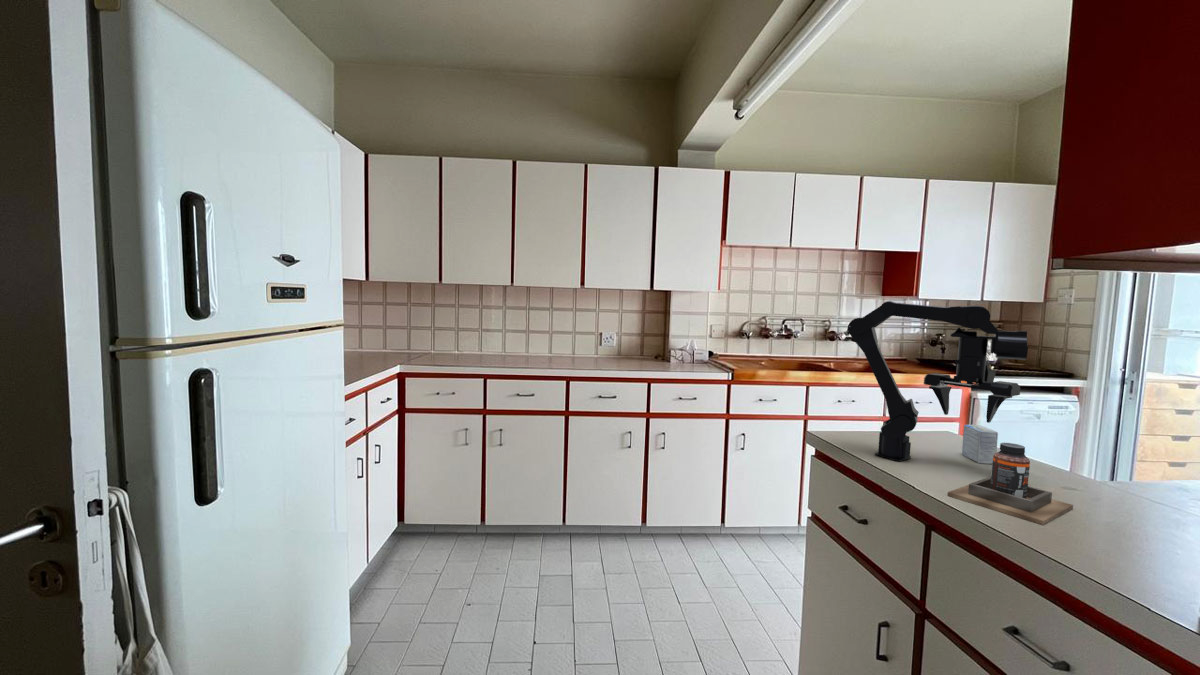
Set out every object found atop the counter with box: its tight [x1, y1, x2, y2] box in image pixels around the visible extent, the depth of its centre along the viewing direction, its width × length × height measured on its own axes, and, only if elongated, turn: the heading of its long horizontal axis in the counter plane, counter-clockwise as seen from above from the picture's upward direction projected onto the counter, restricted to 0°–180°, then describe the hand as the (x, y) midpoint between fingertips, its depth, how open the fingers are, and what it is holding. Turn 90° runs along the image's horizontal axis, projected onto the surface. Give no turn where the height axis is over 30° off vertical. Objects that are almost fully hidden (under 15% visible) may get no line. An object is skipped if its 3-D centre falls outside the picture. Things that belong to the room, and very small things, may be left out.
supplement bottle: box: [990, 442, 1031, 499], centre depth 104 cm, size 6×6×11 cm
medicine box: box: [961, 424, 999, 465], centre depth 134 cm, size 8×4×9 cm, turn 170°
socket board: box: [947, 475, 1074, 526], centre depth 104 cm, size 16×16×3 cm
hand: (966, 418), depth 125 cm, fingers open, 9 cm apart
